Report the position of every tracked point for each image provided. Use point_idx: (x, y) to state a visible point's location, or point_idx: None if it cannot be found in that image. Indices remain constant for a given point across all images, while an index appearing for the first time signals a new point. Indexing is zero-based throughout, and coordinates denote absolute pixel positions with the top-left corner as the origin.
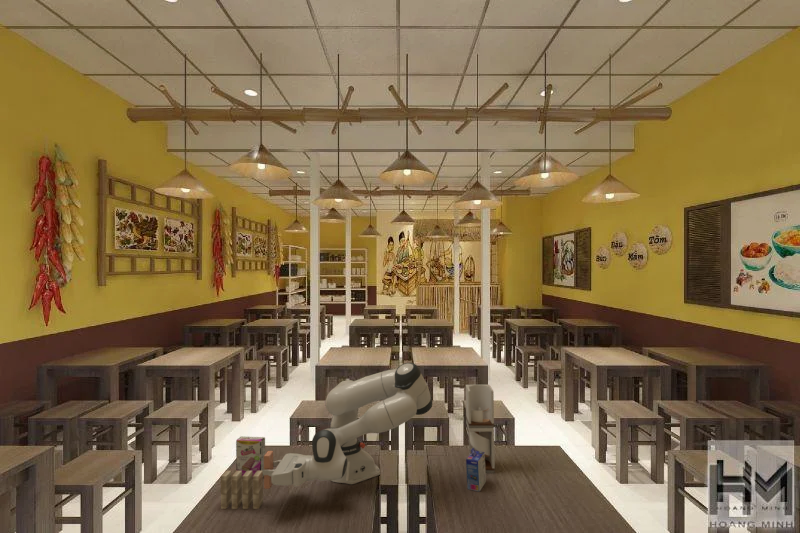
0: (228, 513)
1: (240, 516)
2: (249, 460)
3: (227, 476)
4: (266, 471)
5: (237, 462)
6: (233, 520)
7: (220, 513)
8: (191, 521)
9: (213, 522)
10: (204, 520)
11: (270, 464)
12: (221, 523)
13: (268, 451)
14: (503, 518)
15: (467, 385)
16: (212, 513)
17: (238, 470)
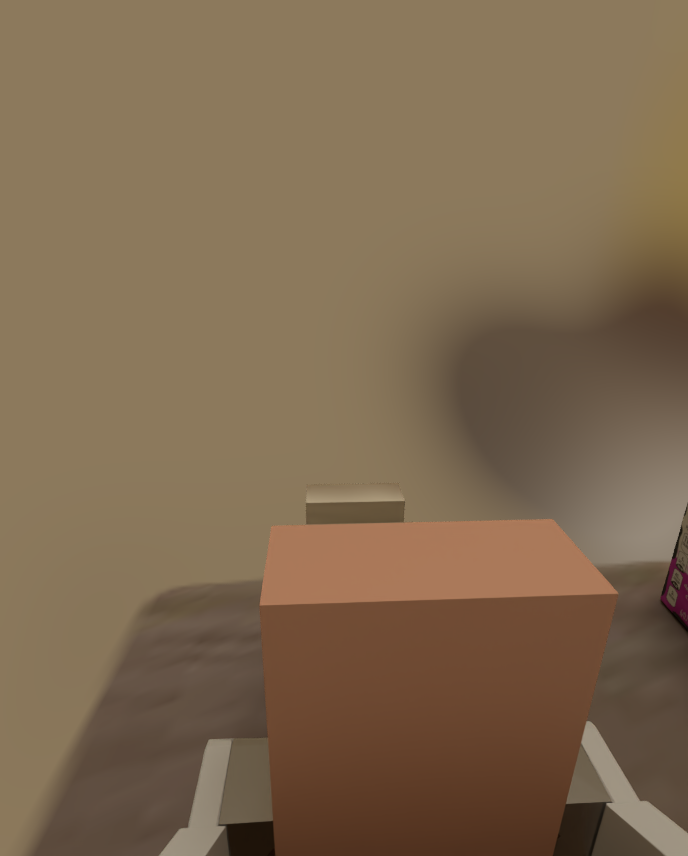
0: (249, 717)
1: (187, 825)
2: None
3: (331, 513)
4: (195, 811)
5: (686, 523)
6: (136, 793)
7: (255, 673)
8: (193, 588)
9: (151, 678)
10: (189, 630)
11: (360, 786)
12: (120, 727)
13: (532, 532)
14: None
15: None
16: (260, 636)
17: (678, 568)
